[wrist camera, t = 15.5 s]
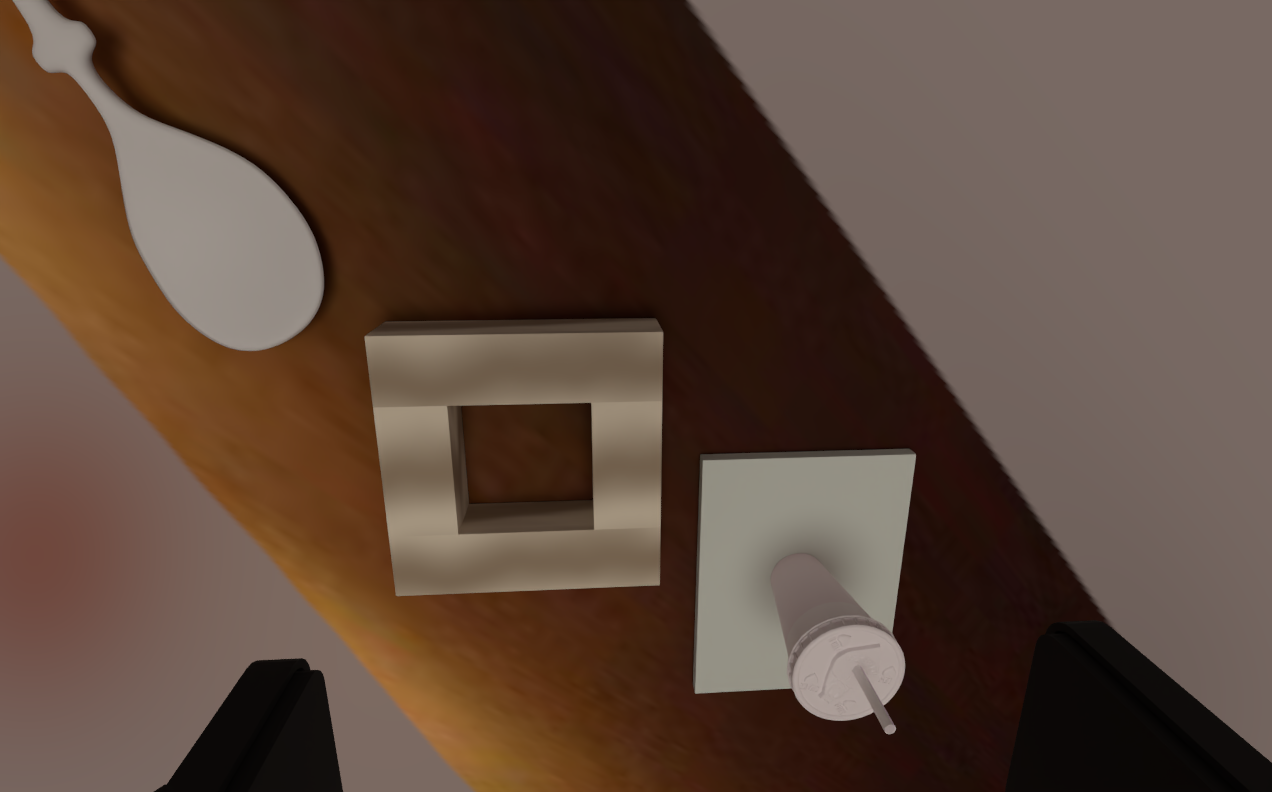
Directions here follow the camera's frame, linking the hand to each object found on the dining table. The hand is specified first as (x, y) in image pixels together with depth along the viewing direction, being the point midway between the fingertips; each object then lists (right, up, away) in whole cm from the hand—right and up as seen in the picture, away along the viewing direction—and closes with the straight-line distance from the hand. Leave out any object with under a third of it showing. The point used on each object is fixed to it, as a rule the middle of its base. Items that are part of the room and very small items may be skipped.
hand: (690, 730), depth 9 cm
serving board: (+10, -8, +38) cm, 40 cm away
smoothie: (+10, -8, +37) cm, 40 cm away
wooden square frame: (-7, +1, +34) cm, 35 cm away
